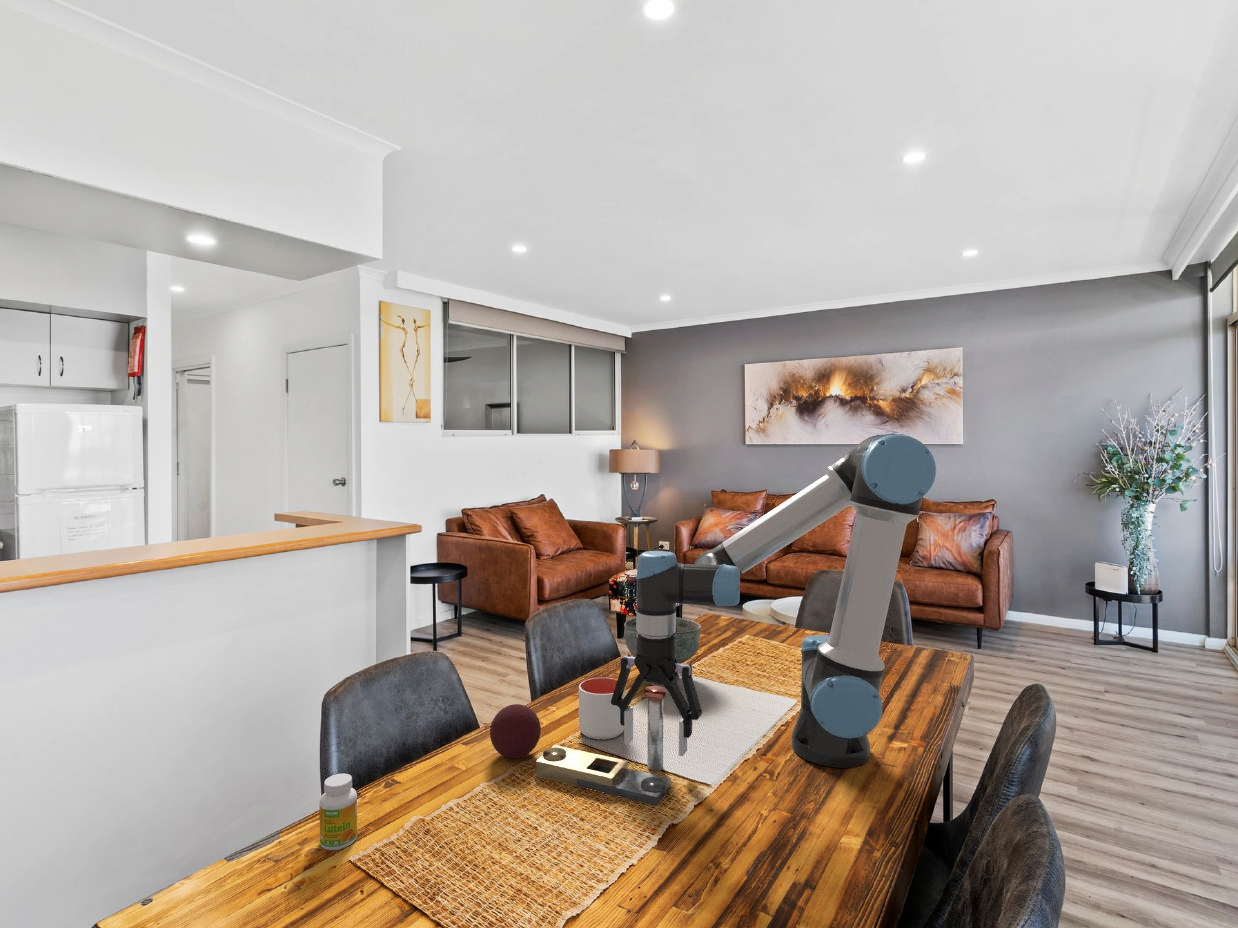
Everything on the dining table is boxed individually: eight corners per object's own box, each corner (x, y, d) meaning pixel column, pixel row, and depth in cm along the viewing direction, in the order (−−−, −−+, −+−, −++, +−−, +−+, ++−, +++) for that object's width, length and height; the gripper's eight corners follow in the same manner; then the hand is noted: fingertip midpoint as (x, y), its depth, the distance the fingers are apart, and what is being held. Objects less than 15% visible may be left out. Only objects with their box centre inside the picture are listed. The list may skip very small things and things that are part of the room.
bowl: (711, 674, 176) (712, 619, 176) (678, 698, 160) (678, 637, 160) (647, 661, 187) (648, 609, 186) (610, 682, 171) (610, 625, 170)
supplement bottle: (319, 854, 99) (318, 791, 99) (320, 835, 104) (319, 774, 104) (357, 846, 101) (357, 784, 101) (356, 827, 106) (356, 768, 106)
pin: (669, 764, 127) (670, 687, 127) (662, 774, 123) (662, 695, 123) (648, 759, 129) (649, 684, 129) (640, 769, 125) (640, 692, 125)
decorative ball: (521, 739, 138) (521, 692, 137) (551, 755, 131) (551, 706, 130) (480, 755, 131) (479, 705, 130) (509, 773, 124) (509, 721, 123)
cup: (620, 743, 136) (620, 696, 136) (573, 739, 138) (573, 692, 138) (629, 723, 146) (629, 679, 145) (585, 719, 148) (585, 675, 147)
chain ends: (671, 786, 119) (671, 768, 119) (658, 805, 113) (658, 786, 113) (553, 759, 129) (553, 742, 129) (535, 776, 123) (535, 758, 122)
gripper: (719, 635, 124) (718, 750, 125) (609, 621, 133) (609, 728, 134) (708, 646, 117) (707, 768, 118) (593, 631, 127) (593, 744, 127)
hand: (655, 747), depth 126 cm, fingers open, 10 cm apart
